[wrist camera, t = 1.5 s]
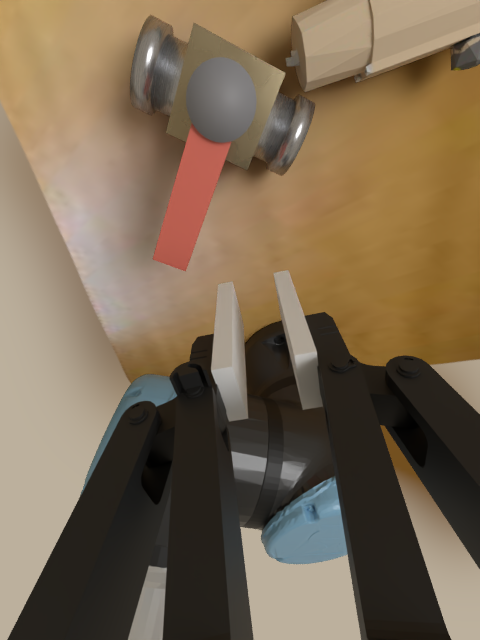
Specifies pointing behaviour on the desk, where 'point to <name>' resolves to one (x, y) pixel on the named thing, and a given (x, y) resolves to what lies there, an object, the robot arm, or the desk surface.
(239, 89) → the lever
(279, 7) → the desk surface
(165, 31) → the valve body
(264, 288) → the desk surface
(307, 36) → the butterfly valve
